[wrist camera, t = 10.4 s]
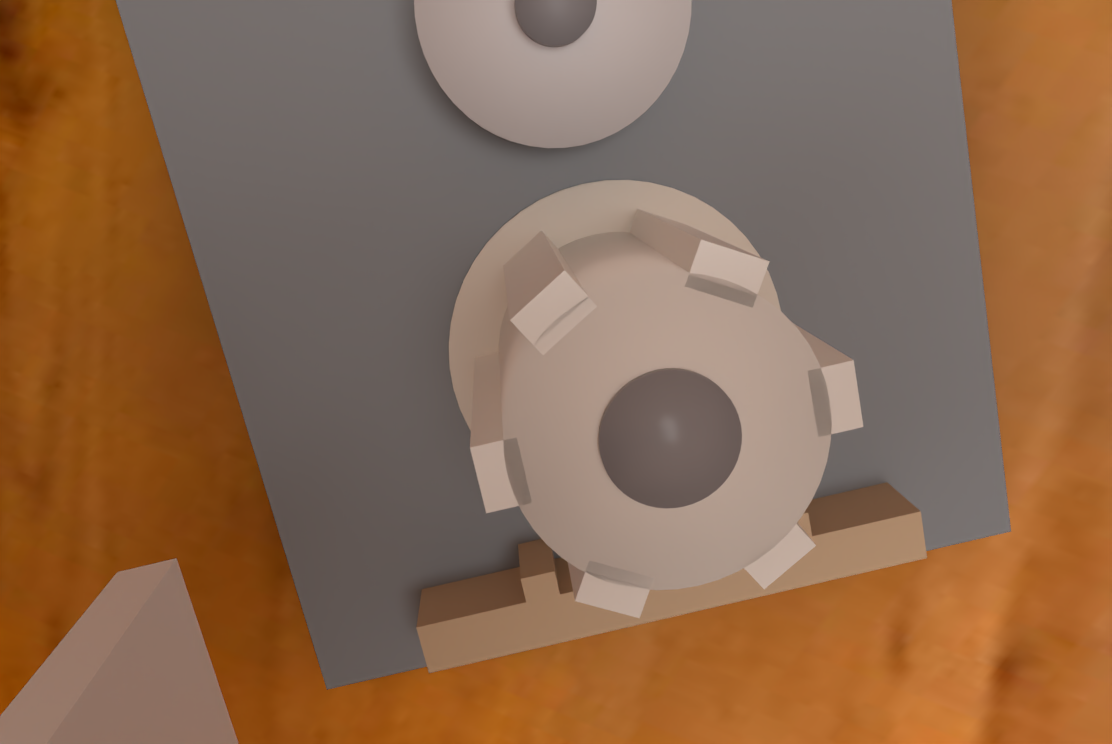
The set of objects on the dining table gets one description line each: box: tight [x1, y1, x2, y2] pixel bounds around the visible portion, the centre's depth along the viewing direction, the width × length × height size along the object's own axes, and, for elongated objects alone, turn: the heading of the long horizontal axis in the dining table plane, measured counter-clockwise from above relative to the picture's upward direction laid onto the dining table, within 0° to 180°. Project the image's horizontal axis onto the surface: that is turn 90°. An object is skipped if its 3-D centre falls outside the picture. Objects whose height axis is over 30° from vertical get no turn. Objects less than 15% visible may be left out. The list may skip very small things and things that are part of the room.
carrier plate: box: [116, 0, 1011, 689], centre depth 23 cm, size 18×18×4 cm
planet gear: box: [470, 209, 863, 618], centre depth 20 cm, size 7×6×7 cm
